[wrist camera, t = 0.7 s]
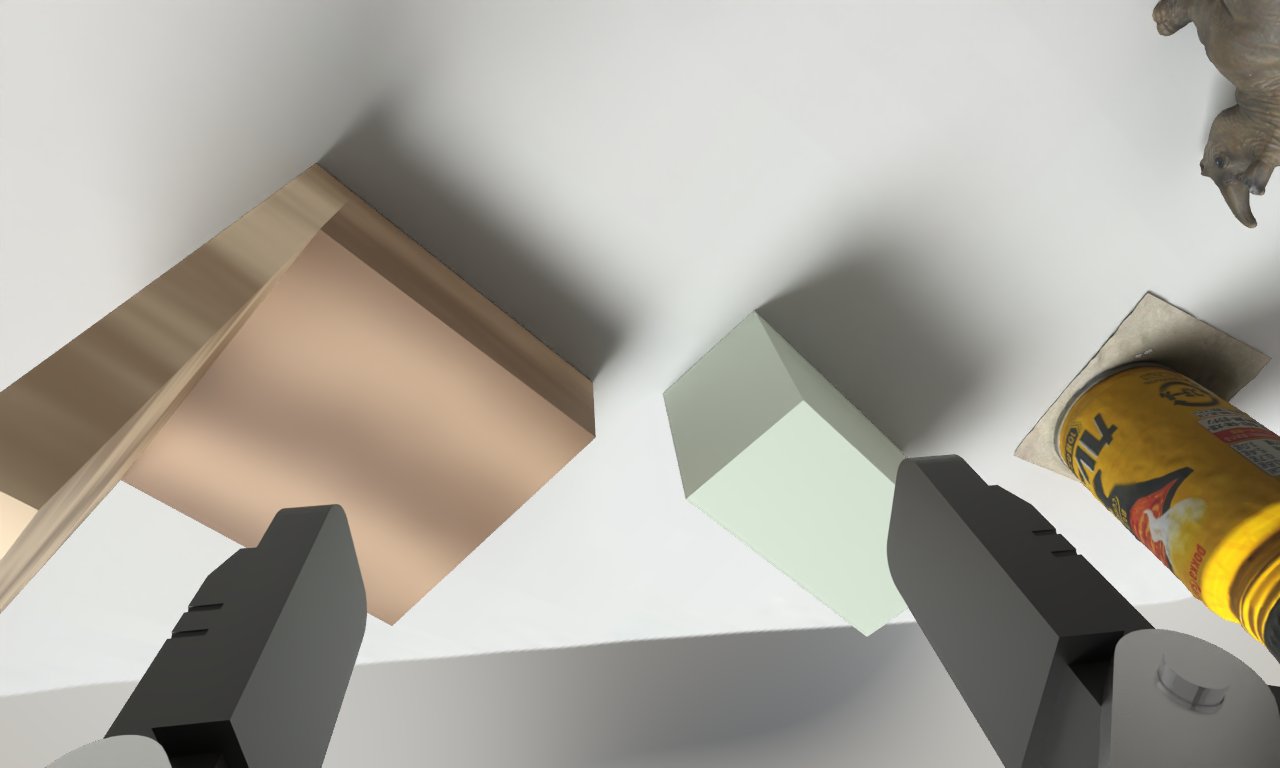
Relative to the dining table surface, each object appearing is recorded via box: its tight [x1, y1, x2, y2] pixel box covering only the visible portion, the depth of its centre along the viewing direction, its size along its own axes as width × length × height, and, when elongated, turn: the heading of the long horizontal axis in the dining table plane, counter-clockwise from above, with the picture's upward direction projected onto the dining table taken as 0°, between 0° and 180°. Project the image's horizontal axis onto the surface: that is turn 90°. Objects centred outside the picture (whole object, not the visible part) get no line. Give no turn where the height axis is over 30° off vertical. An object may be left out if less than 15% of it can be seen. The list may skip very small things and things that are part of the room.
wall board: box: [0, 163, 355, 614], centre depth 19 cm, size 12×2×17 cm, turn 136°
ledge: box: [121, 194, 596, 626], centre depth 27 cm, size 12×11×4 cm
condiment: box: [1013, 293, 1280, 663], centre depth 27 cm, size 7×8×12 cm
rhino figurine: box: [1153, 0, 1280, 228], centre depth 22 cm, size 4×14×6 cm, turn 15°
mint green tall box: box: [663, 311, 908, 637], centre depth 28 cm, size 5×11×7 cm, turn 46°
